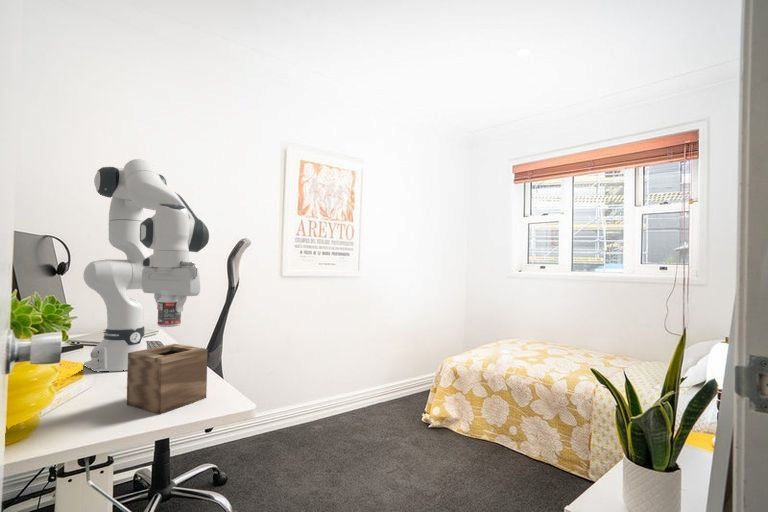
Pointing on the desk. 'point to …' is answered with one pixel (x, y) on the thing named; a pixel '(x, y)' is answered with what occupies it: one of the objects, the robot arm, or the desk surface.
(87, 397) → the desk surface
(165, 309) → the pill bottle
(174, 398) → the slot box
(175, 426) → the desk surface
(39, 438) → the desk surface
